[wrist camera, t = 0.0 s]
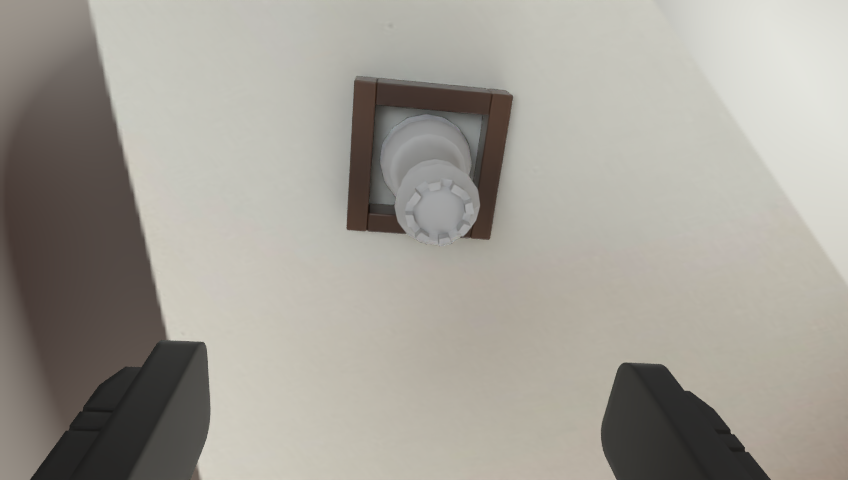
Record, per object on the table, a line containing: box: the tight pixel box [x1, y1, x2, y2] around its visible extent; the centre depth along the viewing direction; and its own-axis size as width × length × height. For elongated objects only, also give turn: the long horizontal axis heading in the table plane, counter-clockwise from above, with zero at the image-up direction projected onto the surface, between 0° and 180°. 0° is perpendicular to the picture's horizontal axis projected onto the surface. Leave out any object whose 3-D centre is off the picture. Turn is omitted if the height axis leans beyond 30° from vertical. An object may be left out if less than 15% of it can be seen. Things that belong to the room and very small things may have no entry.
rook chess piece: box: [380, 114, 480, 246], centre depth 24 cm, size 4×4×8 cm
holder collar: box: [347, 76, 513, 240], centre depth 27 cm, size 7×7×2 cm
